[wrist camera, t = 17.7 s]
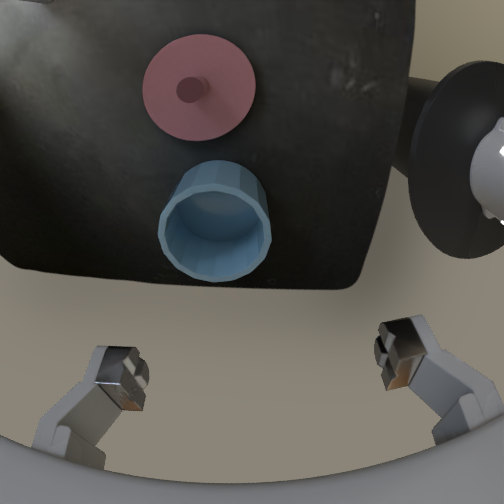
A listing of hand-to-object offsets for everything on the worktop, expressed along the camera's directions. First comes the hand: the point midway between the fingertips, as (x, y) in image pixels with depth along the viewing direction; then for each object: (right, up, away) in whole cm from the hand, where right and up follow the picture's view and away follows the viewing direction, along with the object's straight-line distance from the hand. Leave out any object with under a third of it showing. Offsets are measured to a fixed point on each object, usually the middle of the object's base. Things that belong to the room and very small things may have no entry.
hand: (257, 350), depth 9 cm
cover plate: (-6, +22, +22) cm, 32 cm away
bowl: (-5, +9, +31) cm, 33 cm away
